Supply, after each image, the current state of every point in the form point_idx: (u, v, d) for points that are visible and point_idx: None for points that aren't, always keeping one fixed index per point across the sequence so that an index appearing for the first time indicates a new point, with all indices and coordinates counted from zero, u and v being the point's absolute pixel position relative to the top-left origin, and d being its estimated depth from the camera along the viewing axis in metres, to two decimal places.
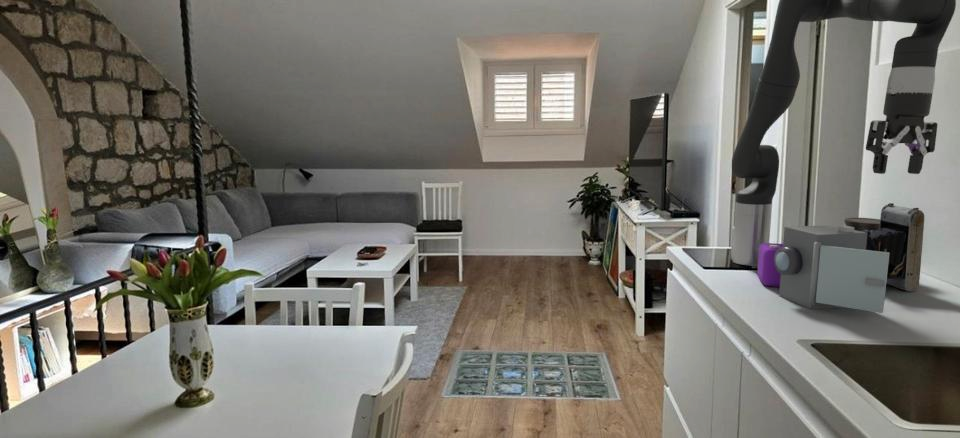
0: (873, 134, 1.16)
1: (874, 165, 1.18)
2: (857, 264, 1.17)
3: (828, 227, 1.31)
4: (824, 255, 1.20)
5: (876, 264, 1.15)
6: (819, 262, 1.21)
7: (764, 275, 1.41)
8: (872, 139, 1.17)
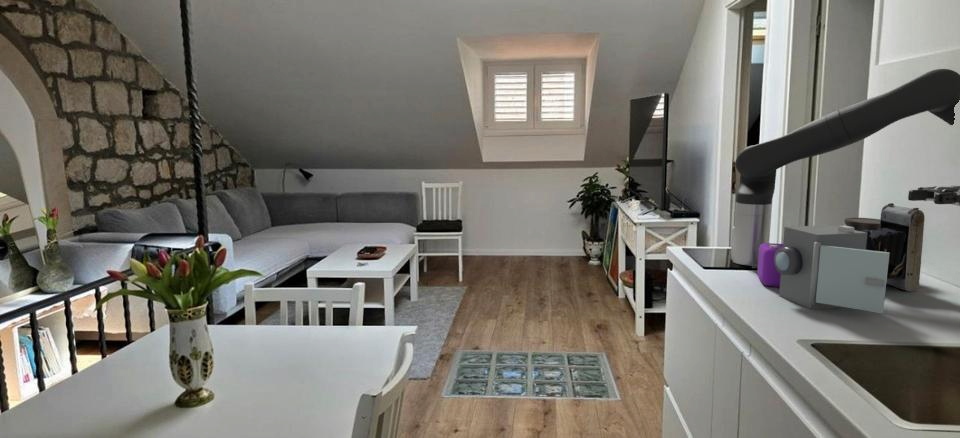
0: None
1: (947, 197, 1.15)
2: (857, 264, 1.17)
3: (828, 227, 1.31)
4: (824, 255, 1.20)
5: (876, 264, 1.15)
6: (819, 262, 1.21)
7: (764, 275, 1.41)
8: None
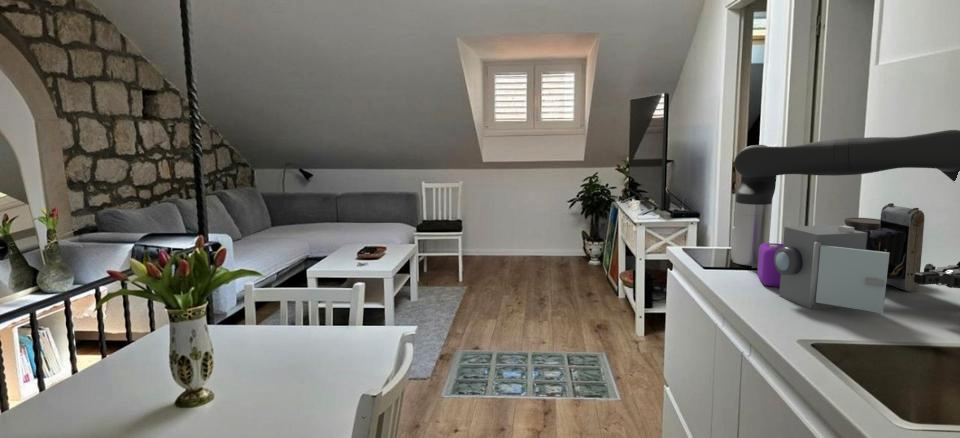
0: None
1: (930, 278, 1.17)
2: (857, 264, 1.17)
3: (828, 227, 1.31)
4: (824, 255, 1.20)
5: (876, 264, 1.15)
6: (819, 262, 1.21)
7: (764, 275, 1.41)
8: None
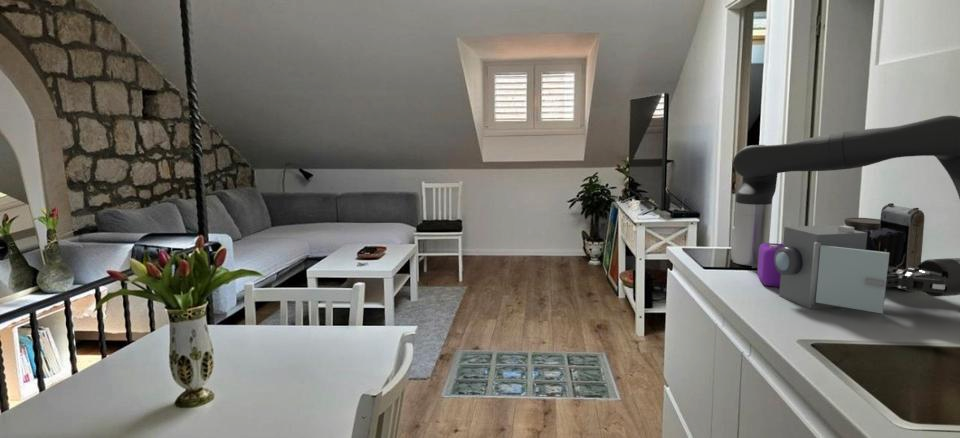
0: (927, 285, 1.13)
1: (889, 280, 1.15)
2: (857, 264, 1.17)
3: (828, 227, 1.31)
4: (824, 255, 1.20)
5: (876, 264, 1.14)
6: (819, 262, 1.21)
7: (764, 275, 1.41)
8: (921, 280, 1.13)
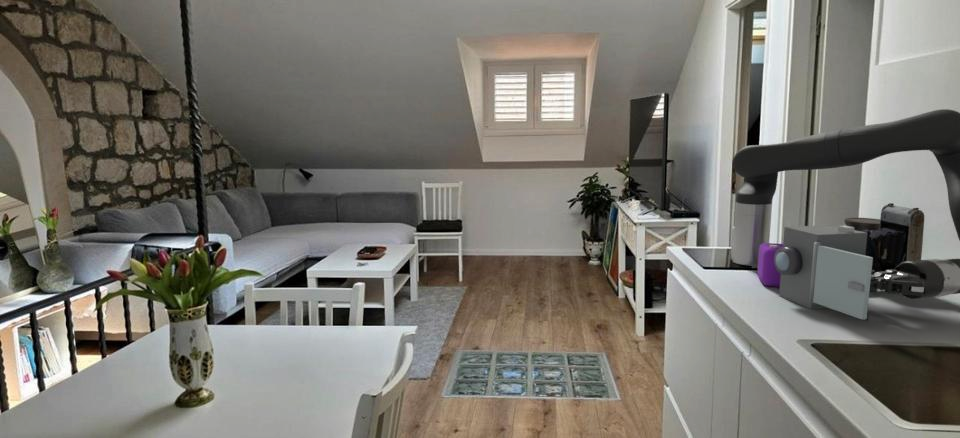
0: (906, 288, 1.10)
1: None
2: (844, 267, 1.15)
3: (828, 227, 1.31)
4: (820, 255, 1.20)
5: (858, 268, 1.11)
6: (817, 262, 1.21)
7: (764, 275, 1.41)
8: (899, 283, 1.11)
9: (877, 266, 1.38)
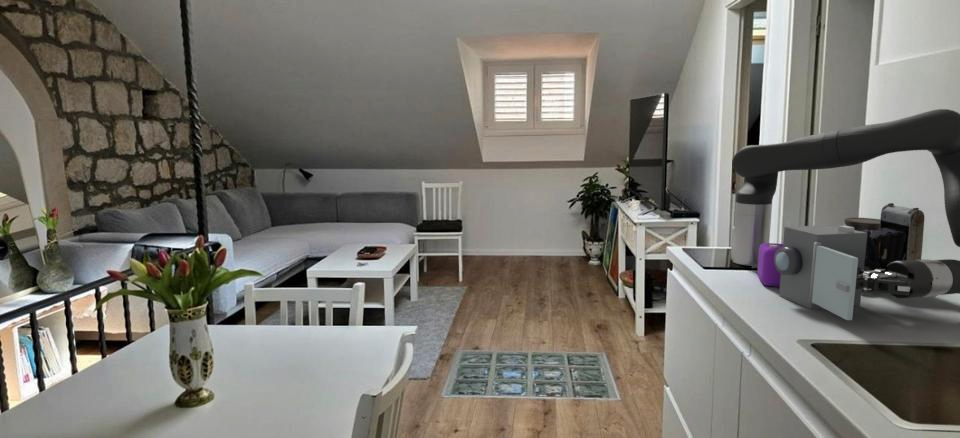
0: (892, 287, 1.11)
1: None
2: (835, 267, 1.14)
3: (828, 227, 1.31)
4: (818, 255, 1.20)
5: (845, 268, 1.11)
6: (815, 262, 1.21)
7: (764, 275, 1.41)
8: (886, 282, 1.12)
9: (877, 266, 1.38)
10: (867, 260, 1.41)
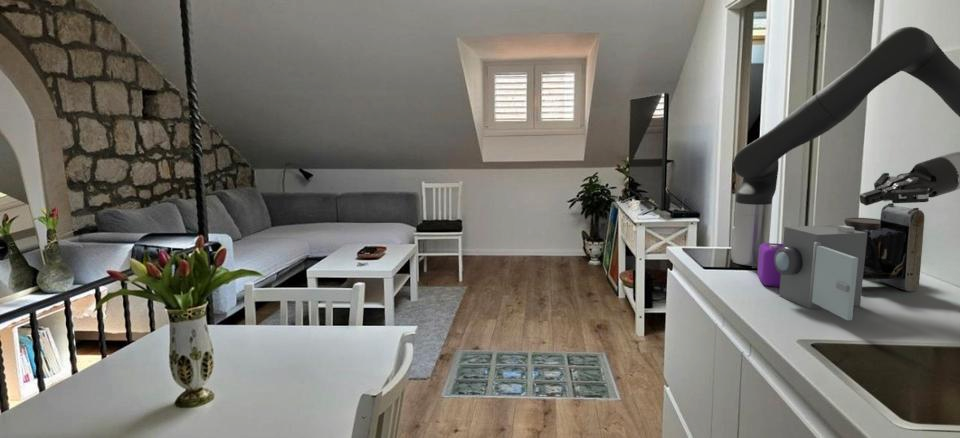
0: (910, 197, 1.17)
1: (873, 198, 1.20)
2: (835, 267, 1.14)
3: (828, 227, 1.31)
4: (818, 255, 1.20)
5: (845, 268, 1.11)
6: (815, 262, 1.21)
7: (764, 275, 1.41)
8: None
9: (877, 266, 1.38)
10: (867, 260, 1.41)
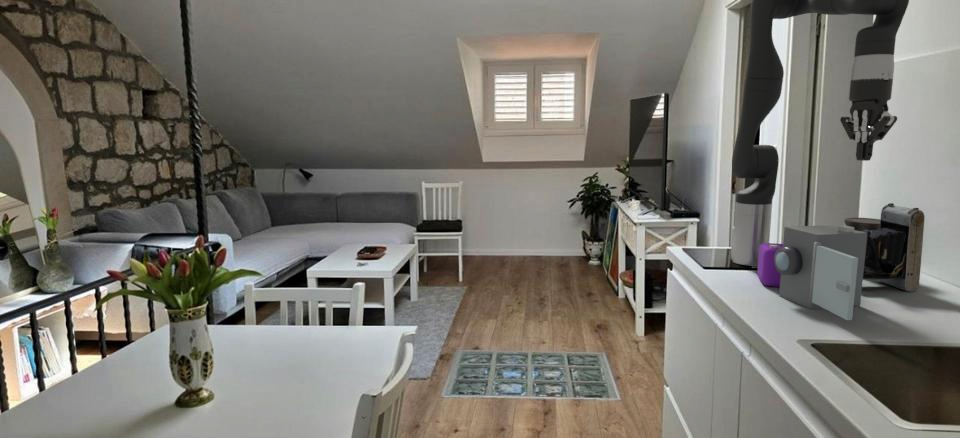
0: (885, 129, 1.21)
1: (867, 153, 1.25)
2: (835, 267, 1.14)
3: (828, 227, 1.31)
4: (818, 255, 1.20)
5: (845, 268, 1.11)
6: (815, 262, 1.21)
7: (764, 275, 1.41)
8: None
9: (877, 266, 1.38)
10: (867, 260, 1.41)
